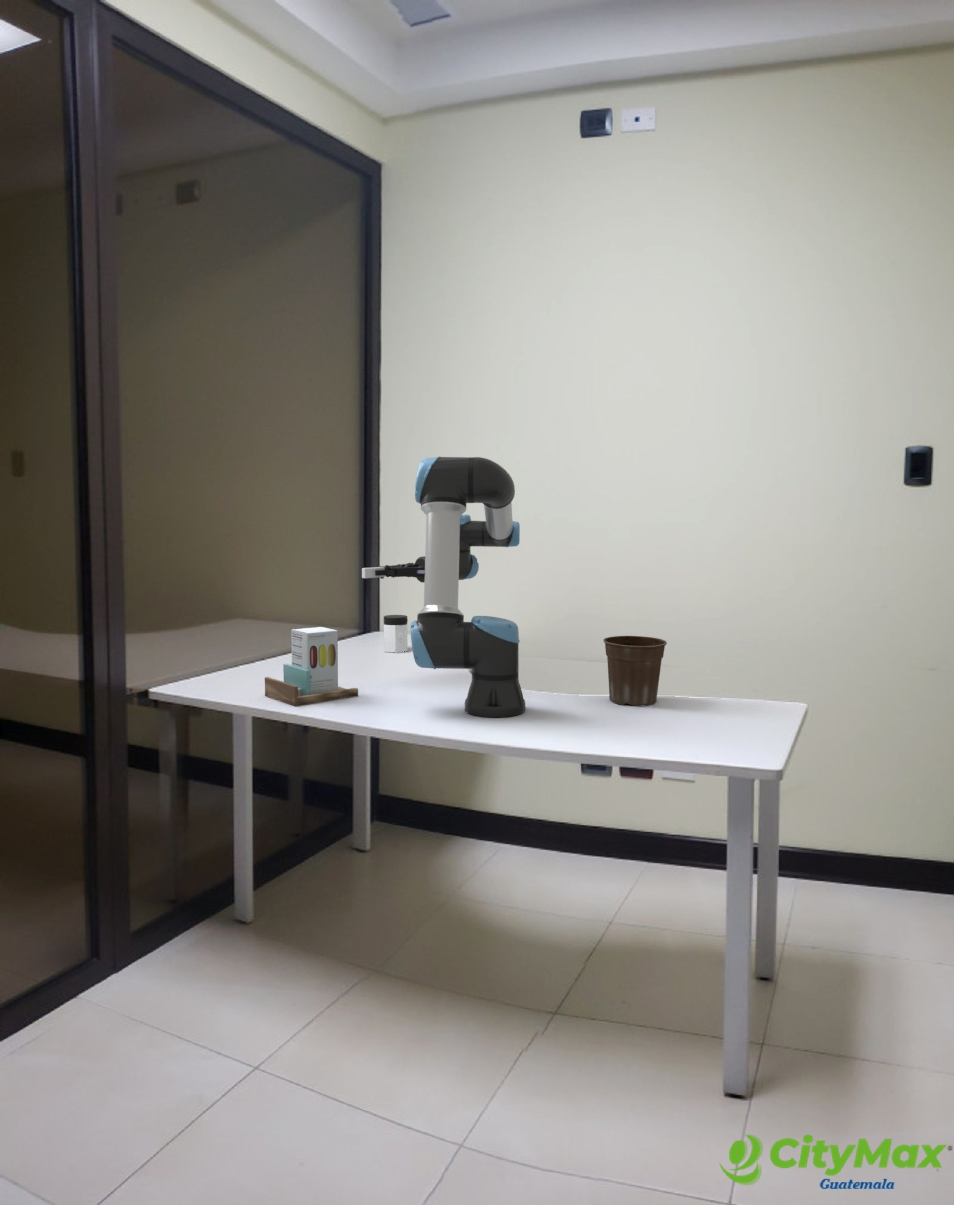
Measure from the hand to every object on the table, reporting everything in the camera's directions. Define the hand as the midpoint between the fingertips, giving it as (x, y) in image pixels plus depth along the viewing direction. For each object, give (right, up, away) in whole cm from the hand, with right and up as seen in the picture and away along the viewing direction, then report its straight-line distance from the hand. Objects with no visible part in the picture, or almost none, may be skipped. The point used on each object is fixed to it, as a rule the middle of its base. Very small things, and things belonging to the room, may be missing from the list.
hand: (363, 573), depth 259 cm
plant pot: (+72, -34, -12) cm, 81 cm away
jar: (+3, -25, +64) cm, 69 cm away
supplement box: (-12, -32, -7) cm, 35 cm away
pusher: (-17, -32, -11) cm, 38 cm away
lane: (-13, -33, -7) cm, 36 cm away
